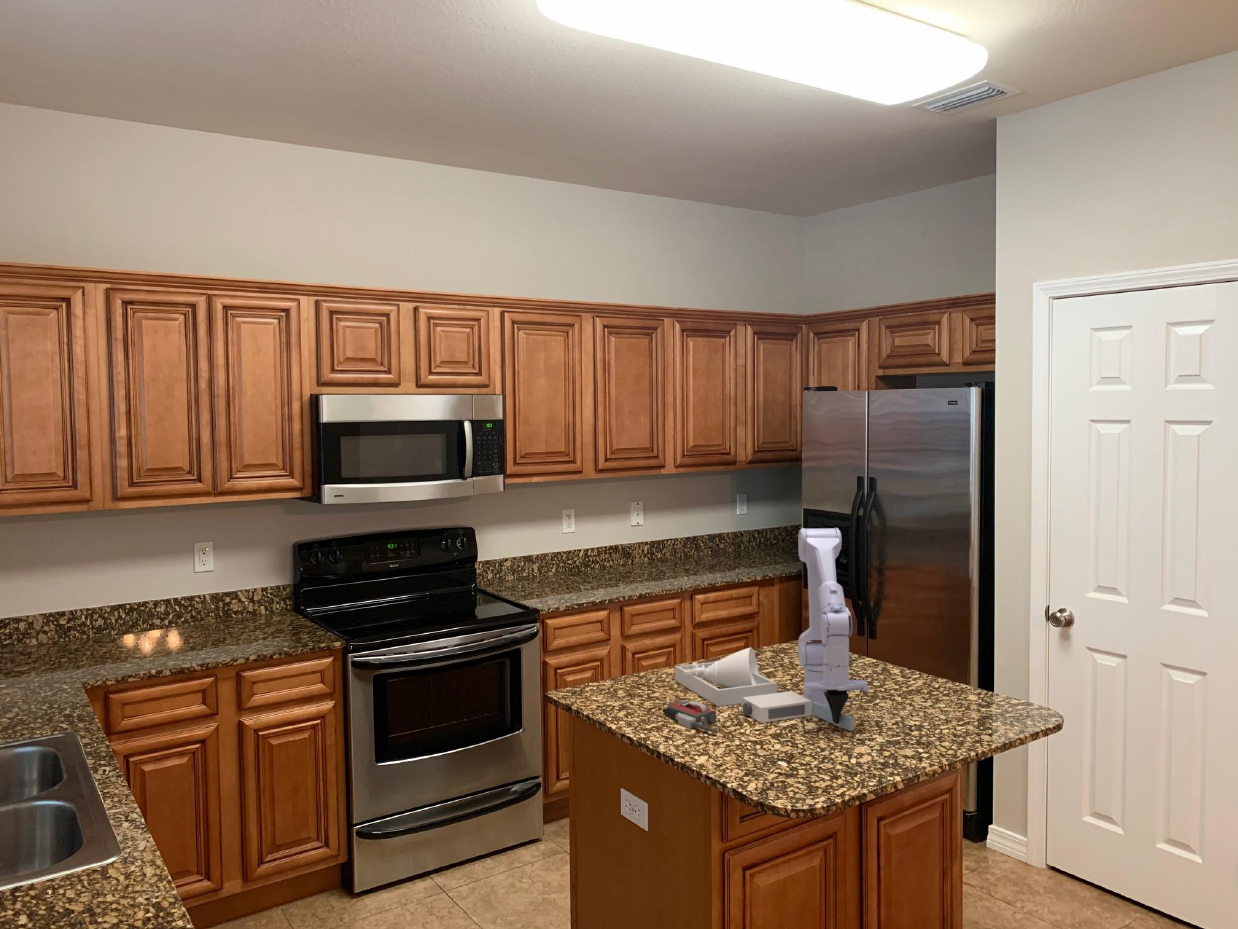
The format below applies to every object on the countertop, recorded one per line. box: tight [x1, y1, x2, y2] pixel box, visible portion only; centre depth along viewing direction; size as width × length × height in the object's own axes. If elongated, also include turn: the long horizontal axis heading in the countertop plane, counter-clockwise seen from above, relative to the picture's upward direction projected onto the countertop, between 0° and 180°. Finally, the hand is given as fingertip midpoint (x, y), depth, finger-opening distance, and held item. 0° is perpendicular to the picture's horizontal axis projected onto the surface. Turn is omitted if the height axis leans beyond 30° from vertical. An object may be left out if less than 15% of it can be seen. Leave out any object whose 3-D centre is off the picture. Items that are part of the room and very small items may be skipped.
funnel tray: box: [674, 661, 778, 707], centre depth 247 cm, size 17×25×4 cm
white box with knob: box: [741, 690, 813, 724], centre depth 226 cm, size 15×9×4 cm, turn 112°
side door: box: [812, 702, 857, 732], centre depth 218 cm, size 13×2×3 cm, turn 28°
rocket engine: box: [684, 647, 759, 688], centre depth 245 cm, size 12×12×18 cm
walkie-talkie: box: [662, 699, 718, 734], centre depth 220 cm, size 9×4×20 cm
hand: (835, 722), depth 214 cm, fingers closed
